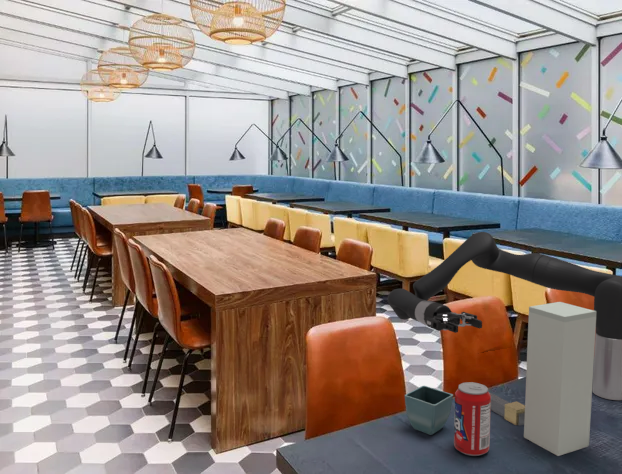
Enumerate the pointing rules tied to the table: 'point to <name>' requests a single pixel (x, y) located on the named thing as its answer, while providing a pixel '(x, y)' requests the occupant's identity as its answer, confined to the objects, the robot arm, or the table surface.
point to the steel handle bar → (508, 410)
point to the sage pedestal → (559, 376)
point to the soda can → (472, 419)
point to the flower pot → (428, 409)
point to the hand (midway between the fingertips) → (469, 326)
